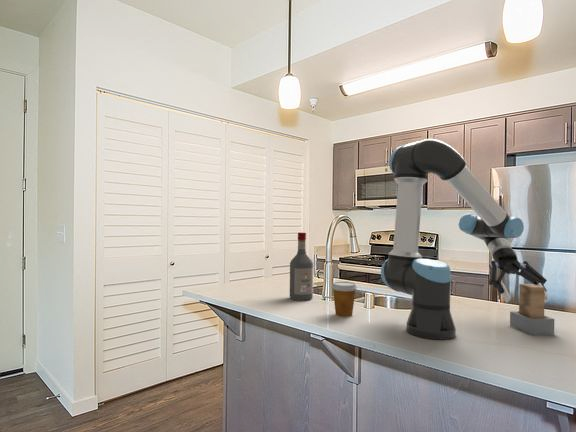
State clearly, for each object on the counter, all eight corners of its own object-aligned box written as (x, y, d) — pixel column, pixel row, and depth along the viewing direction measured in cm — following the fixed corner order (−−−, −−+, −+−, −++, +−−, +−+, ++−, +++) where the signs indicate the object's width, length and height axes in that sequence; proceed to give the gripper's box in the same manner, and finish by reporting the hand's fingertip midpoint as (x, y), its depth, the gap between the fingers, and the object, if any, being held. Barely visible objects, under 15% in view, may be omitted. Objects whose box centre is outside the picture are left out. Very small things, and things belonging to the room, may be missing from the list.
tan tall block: (518, 324, 130) (519, 283, 130) (531, 324, 131) (531, 284, 131) (530, 329, 124) (531, 287, 124) (544, 329, 125) (544, 287, 125)
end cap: (509, 325, 132) (510, 311, 132) (532, 325, 133) (533, 311, 133) (529, 334, 122) (529, 319, 122) (554, 334, 123) (554, 319, 123)
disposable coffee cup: (361, 314, 144) (361, 283, 144) (347, 319, 137) (347, 286, 137) (340, 310, 151) (341, 280, 151) (326, 314, 144) (326, 283, 144)
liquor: (314, 300, 169) (315, 233, 168) (295, 301, 165) (296, 233, 165) (305, 295, 177) (306, 232, 177) (287, 297, 173) (288, 232, 173)
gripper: (528, 258, 148) (556, 306, 133) (466, 258, 147) (488, 306, 132) (538, 246, 143) (568, 294, 128) (474, 246, 142) (497, 294, 127)
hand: (527, 300), depth 130 cm, fingers open, 13 cm apart
